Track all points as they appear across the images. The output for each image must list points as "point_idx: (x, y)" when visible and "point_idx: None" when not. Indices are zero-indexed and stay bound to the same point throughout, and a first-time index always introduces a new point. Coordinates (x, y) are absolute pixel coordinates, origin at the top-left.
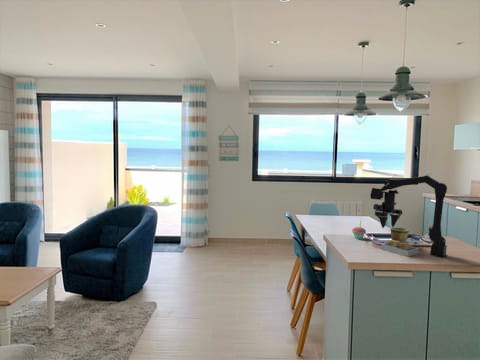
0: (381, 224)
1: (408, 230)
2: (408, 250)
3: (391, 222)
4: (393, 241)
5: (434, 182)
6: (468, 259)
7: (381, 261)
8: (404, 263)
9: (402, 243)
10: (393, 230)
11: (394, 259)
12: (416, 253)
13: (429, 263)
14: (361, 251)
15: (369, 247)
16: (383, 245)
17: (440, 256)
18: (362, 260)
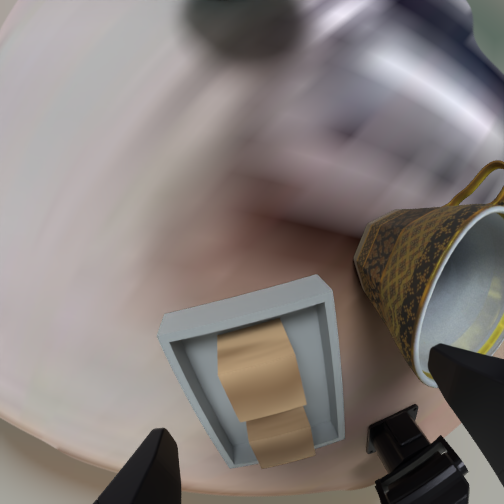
0: (127, 470)
1: None
2: (243, 463)
3: (471, 376)
4: (245, 402)
5: None
6: None
7: (64, 443)
8: None
9: (270, 442)
10: (410, 324)
11: (130, 451)
12: (314, 428)
13: (248, 491)
14: (17, 320)
15: (100, 253)
16: (167, 351)
17: (367, 452)
18: (4, 407)
